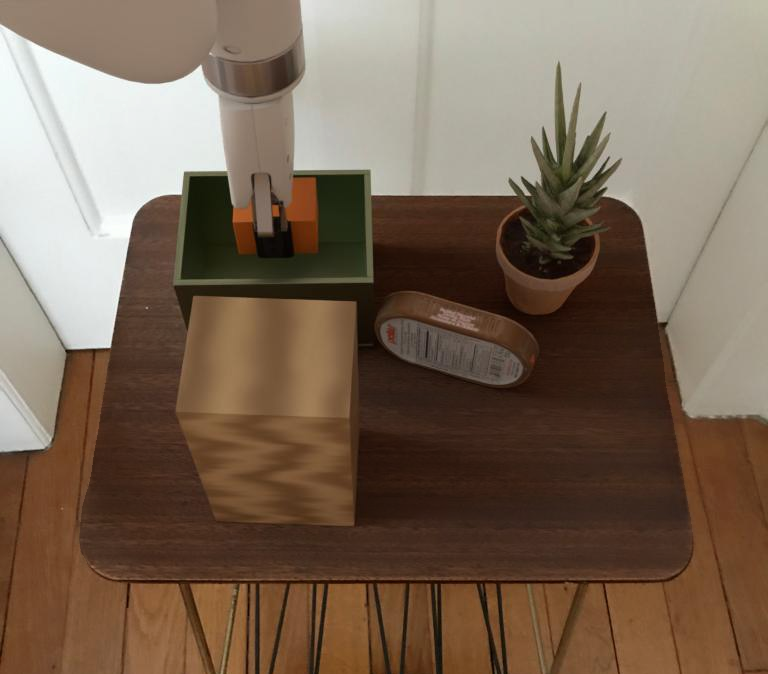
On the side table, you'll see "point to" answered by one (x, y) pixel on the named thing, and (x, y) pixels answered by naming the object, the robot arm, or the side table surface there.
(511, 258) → the potted plant
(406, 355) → the tin
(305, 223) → the block
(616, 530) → the side table surface
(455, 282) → the side table surface
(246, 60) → the robot arm
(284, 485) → the wood grain block
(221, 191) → the trash bin
